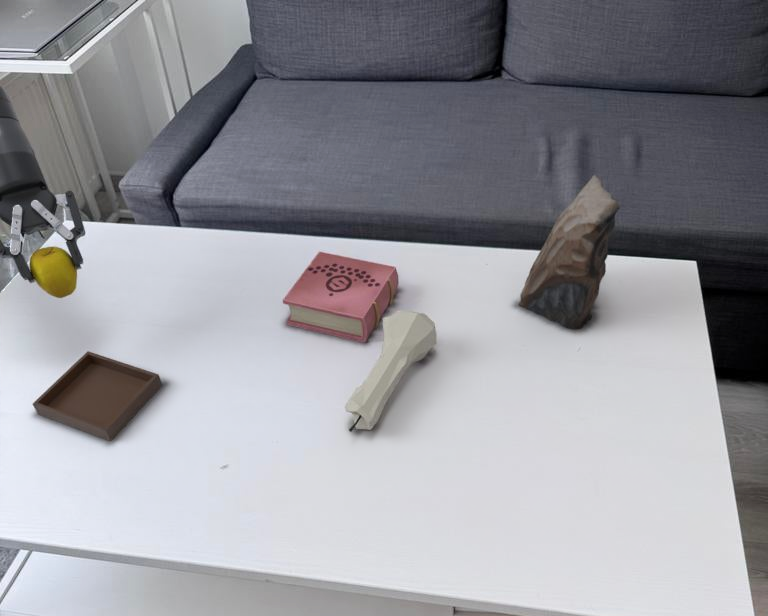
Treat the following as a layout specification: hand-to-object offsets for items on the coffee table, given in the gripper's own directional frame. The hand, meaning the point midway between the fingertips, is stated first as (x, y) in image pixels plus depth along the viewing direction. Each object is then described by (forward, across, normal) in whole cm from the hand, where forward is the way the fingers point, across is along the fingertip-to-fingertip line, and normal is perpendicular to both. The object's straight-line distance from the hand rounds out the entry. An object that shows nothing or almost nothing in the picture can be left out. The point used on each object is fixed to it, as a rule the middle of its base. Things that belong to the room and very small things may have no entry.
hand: (55, 274), depth 110 cm
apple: (+2, 0, +4) cm, 5 cm away
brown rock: (+29, +74, -6) cm, 80 cm away
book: (+17, +42, +6) cm, 46 cm away
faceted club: (+32, +40, -9) cm, 52 cm away
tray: (+19, -1, +4) cm, 19 cm away
